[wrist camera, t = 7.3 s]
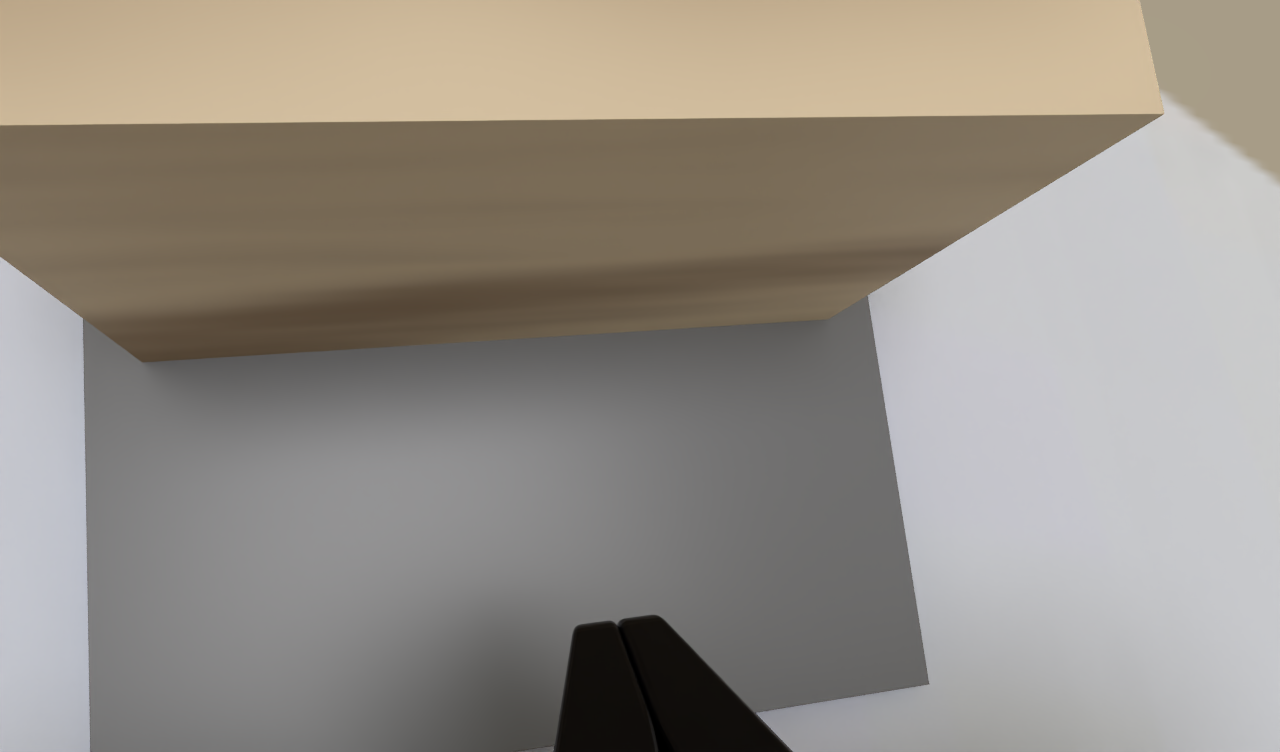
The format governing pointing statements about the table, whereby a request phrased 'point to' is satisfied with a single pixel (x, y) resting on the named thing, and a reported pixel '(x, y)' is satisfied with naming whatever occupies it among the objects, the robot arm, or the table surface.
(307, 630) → the gray board
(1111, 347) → the table surface
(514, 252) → the pine block
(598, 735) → the robot arm
